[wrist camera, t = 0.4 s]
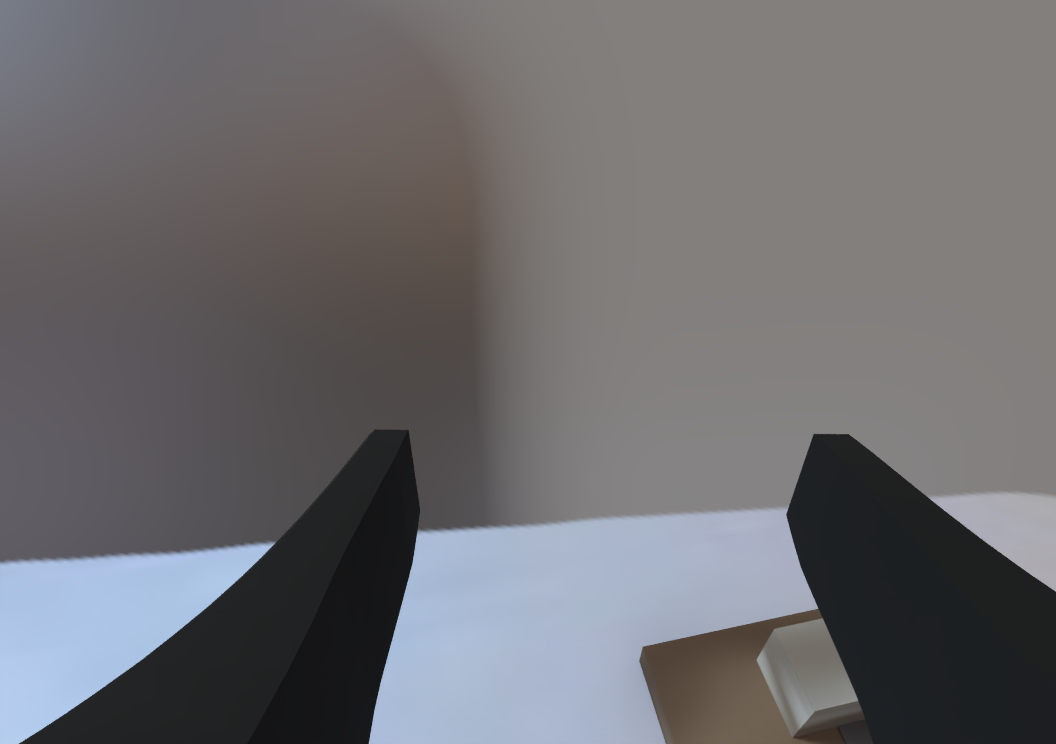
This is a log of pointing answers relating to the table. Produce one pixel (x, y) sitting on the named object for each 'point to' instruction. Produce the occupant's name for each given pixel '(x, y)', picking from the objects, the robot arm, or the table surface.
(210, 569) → the table surface
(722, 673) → the gauge board
